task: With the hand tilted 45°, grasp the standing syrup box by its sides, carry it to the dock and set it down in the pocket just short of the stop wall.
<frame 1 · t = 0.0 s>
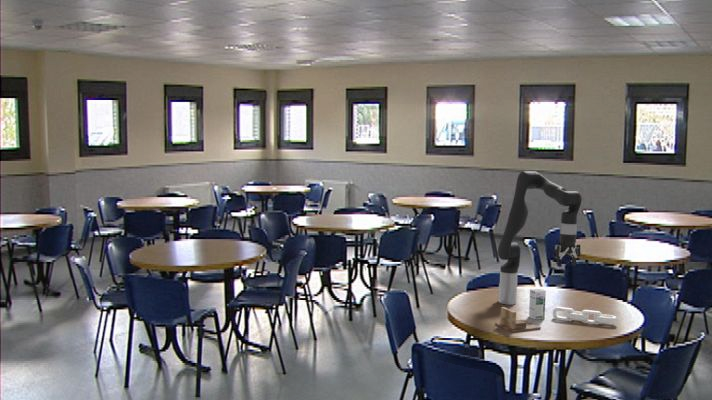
hand: (566, 266, 334), 29 cm above the table, tool pointing down, fingers open, 8 cm apart
chain: (583, 322, 343), on the table
dock: (517, 327, 332), on the table
syrup box: (536, 318, 349), on the table
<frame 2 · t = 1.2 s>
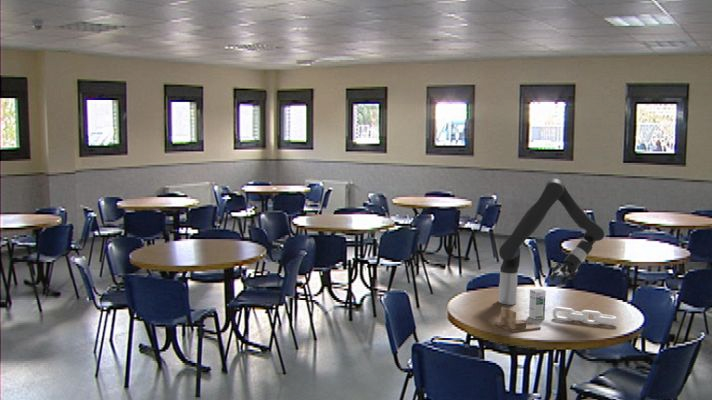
hand: (556, 281, 351), 18 cm above the table, tool tilted 45°, fingers open, 8 cm apart
nothing on the table moved.
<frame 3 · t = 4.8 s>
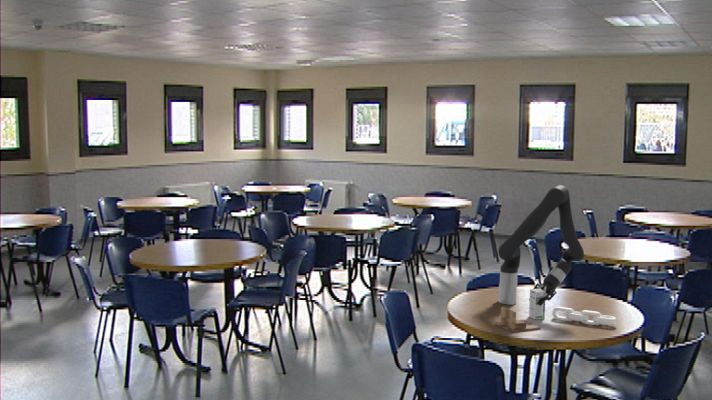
hand: (534, 302, 348), 8 cm above the table, tool tilted 45°, fingers closed on syrup box, 6 cm apart
syrup box: (536, 318, 349), on the table, touching gripper
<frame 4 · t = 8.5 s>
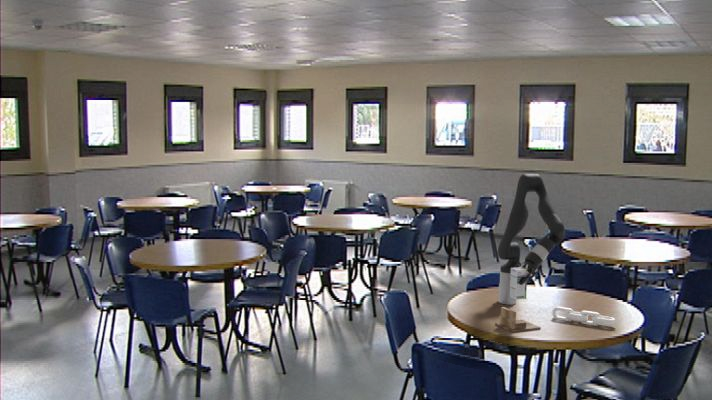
hand: (515, 282, 329), 22 cm above the table, tool tilted 45°, fingers closed on syrup box, 6 cm apart
syrup box: (517, 298, 331), point 14 cm above the table, touching gripper
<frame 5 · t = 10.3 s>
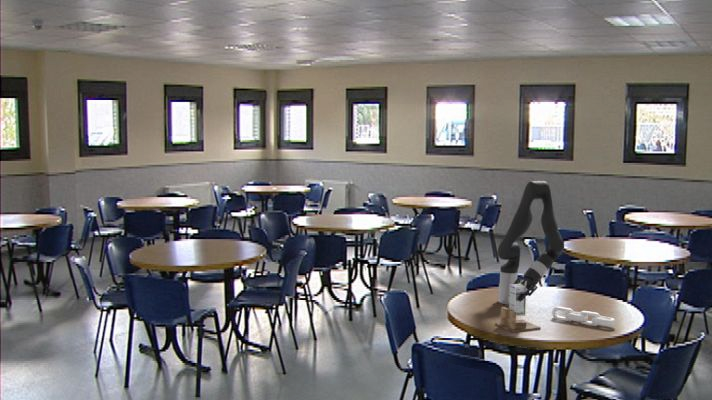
hand: (514, 298, 330), 14 cm above the table, tool tilted 45°, fingers closed on syrup box, 6 cm apart
syrup box: (516, 314, 331), point 6 cm above the table, touching gripper
when the fingers open (10 cm above the table, at t = 12.0 s): syrup box stays where it is, resting on dock.
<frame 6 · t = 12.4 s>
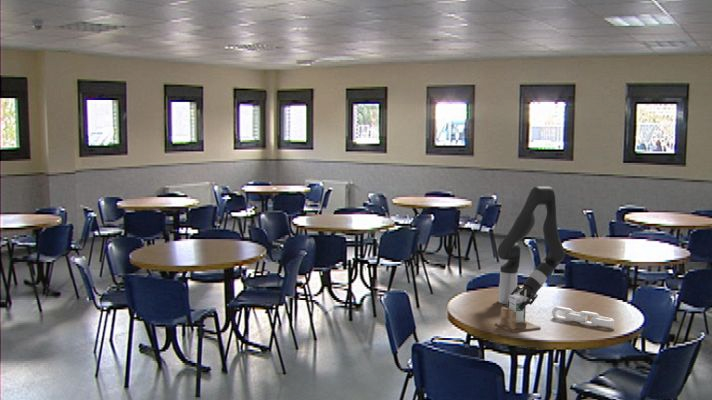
hand: (514, 306, 330), 10 cm above the table, tool tilted 45°, fingers open, 8 cm apart
syrup box: (516, 325, 332), point 1 cm above the table, touching dock
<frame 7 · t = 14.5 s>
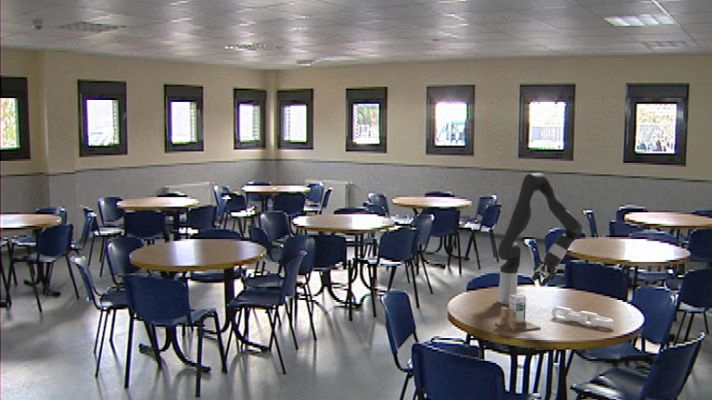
hand: (537, 282, 340), 20 cm above the table, tool tilted 30°, fingers open, 8 cm apart
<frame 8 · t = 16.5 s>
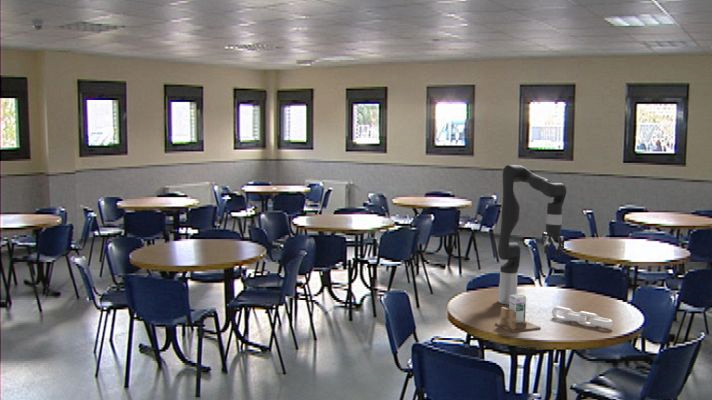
hand: (552, 255, 346), 32 cm above the table, tool pointing down, fingers open, 8 cm apart
at the end: syrup box 0.3 cm from the target spot on the dock, point 0.8 cm above the dock's base; syrup box tilted 0°; the gripper is holding nothing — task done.
